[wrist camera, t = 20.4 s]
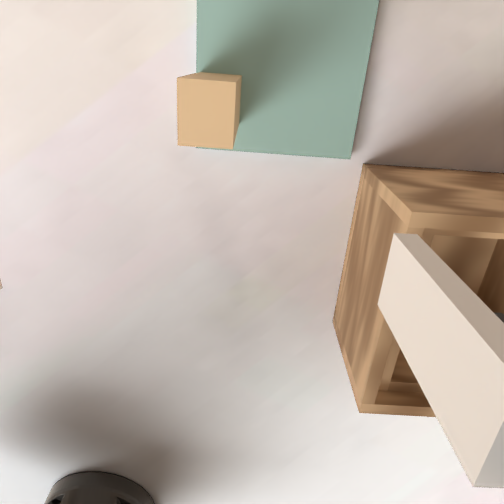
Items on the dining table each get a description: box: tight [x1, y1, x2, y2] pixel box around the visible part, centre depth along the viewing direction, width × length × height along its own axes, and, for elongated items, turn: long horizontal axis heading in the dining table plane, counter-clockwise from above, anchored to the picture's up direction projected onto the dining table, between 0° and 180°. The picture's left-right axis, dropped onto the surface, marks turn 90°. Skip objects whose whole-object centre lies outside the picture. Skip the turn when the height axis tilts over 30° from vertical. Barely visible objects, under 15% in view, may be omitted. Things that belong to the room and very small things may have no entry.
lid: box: [177, 0, 379, 159], centre depth 26 cm, size 13×14×12 cm
